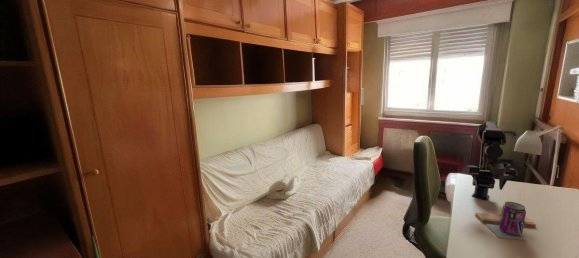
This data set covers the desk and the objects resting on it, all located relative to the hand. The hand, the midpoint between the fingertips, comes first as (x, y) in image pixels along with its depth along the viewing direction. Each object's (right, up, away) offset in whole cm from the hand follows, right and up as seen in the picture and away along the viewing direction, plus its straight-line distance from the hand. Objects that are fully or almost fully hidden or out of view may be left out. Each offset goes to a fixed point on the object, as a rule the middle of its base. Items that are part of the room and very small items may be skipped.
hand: (489, 188), depth 116 cm
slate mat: (-5, -15, -14) cm, 21 cm away
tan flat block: (+2, -13, -6) cm, 15 cm away
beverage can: (-3, -15, -14) cm, 21 cm away
